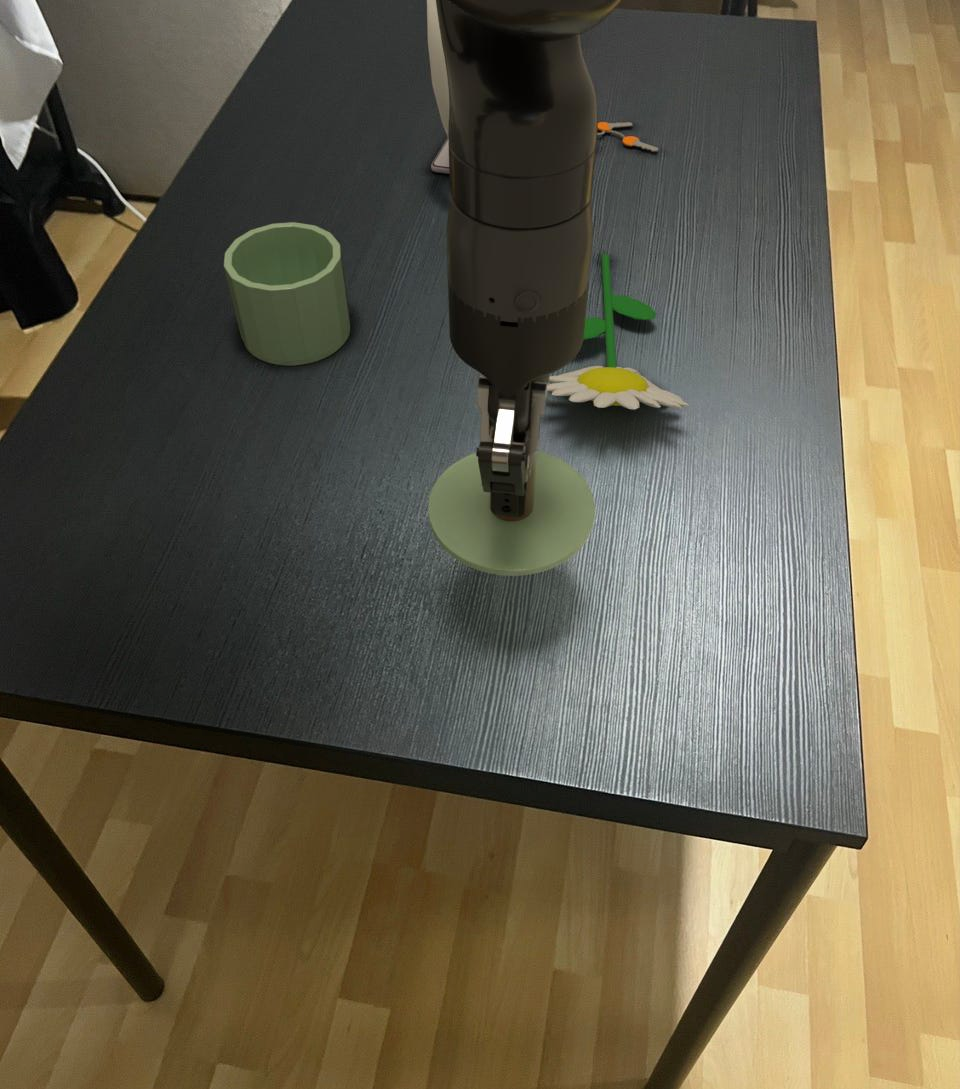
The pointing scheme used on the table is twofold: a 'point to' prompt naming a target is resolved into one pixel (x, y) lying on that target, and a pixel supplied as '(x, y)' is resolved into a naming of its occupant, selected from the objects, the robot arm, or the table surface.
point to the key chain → (626, 140)
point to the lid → (512, 518)
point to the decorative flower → (612, 362)
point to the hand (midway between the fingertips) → (511, 491)
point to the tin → (288, 293)
